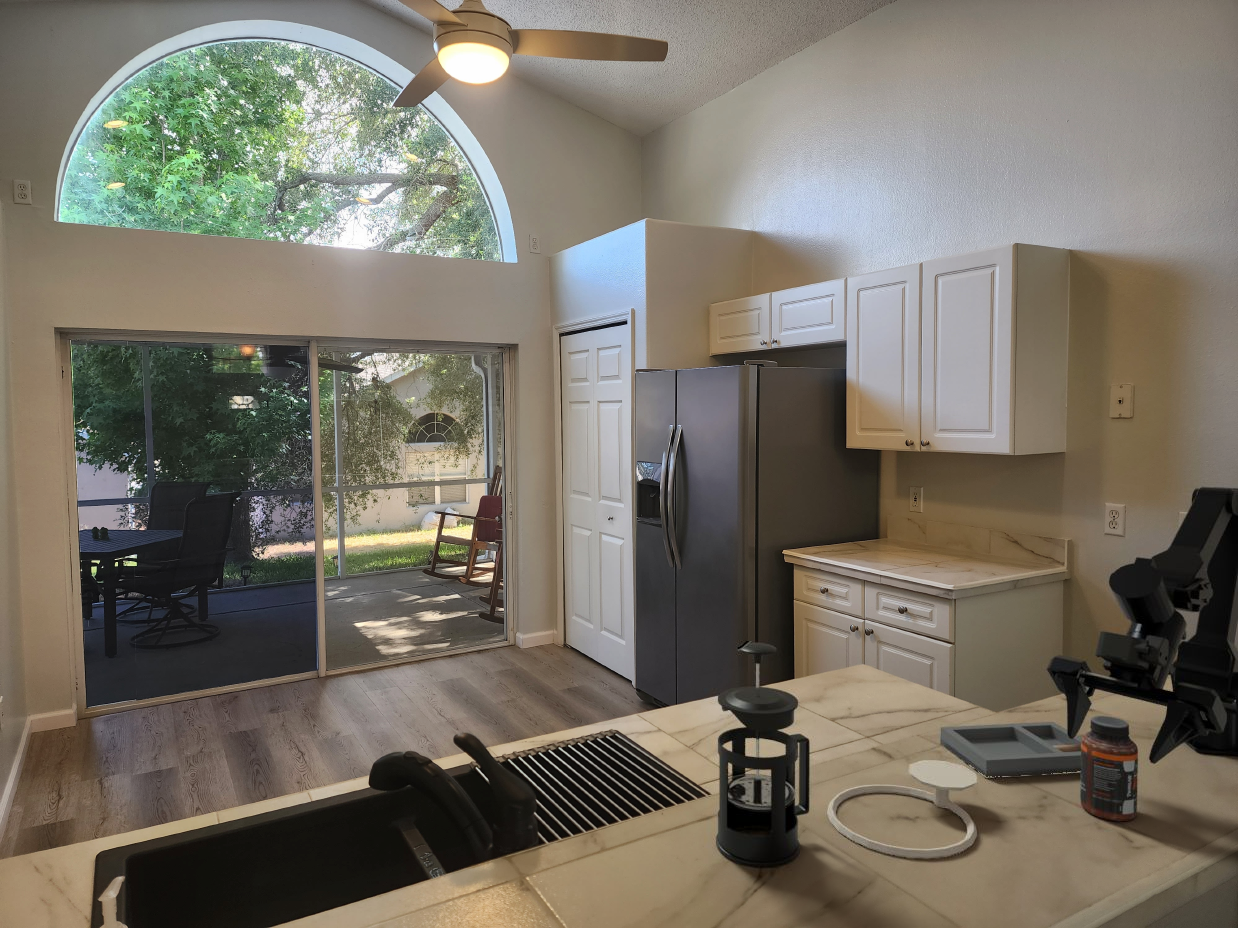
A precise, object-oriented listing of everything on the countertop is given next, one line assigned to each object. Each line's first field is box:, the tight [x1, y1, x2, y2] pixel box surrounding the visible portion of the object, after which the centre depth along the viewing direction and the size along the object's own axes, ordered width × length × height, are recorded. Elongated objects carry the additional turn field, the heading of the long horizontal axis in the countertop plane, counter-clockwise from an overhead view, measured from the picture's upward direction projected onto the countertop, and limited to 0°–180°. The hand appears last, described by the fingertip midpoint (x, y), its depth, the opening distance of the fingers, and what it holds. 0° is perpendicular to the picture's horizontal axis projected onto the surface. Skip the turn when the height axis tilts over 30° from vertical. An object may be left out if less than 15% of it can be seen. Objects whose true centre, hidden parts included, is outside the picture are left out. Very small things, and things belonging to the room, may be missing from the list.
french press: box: [715, 642, 811, 869], centre depth 89 cm, size 12×9×23 cm
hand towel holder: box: [826, 759, 978, 859], centre depth 95 cm, size 17×4×21 cm
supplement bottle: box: [1079, 715, 1139, 822], centre depth 97 cm, size 6×6×11 cm
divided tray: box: [939, 721, 1082, 777], centre depth 113 cm, size 18×12×2 cm, turn 96°
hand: (1109, 748), depth 96 cm, fingers open, 9 cm apart
